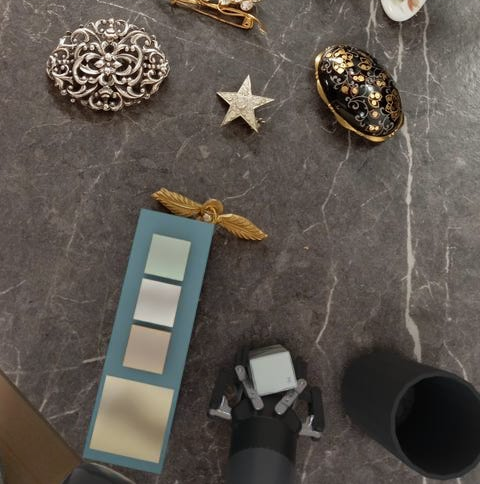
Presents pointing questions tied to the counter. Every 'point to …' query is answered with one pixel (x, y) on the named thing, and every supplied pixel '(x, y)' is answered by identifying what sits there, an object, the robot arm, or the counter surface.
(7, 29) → the counter surface
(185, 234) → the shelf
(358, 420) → the vase
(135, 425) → the block line
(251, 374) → the box
